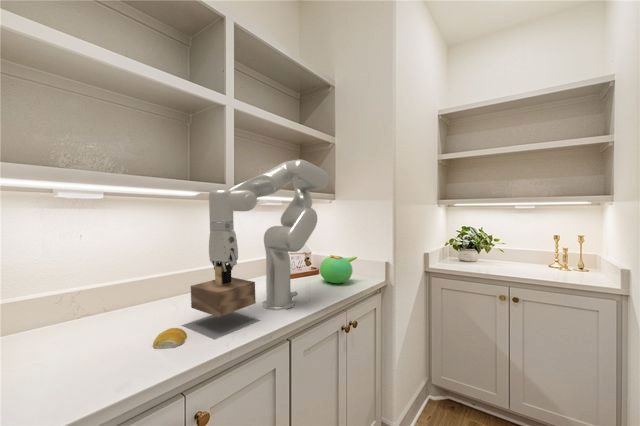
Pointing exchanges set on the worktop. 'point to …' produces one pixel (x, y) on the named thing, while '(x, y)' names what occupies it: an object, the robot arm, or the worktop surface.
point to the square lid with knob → (222, 295)
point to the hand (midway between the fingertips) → (223, 281)
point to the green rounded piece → (336, 269)
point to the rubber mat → (220, 324)
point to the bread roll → (170, 338)
